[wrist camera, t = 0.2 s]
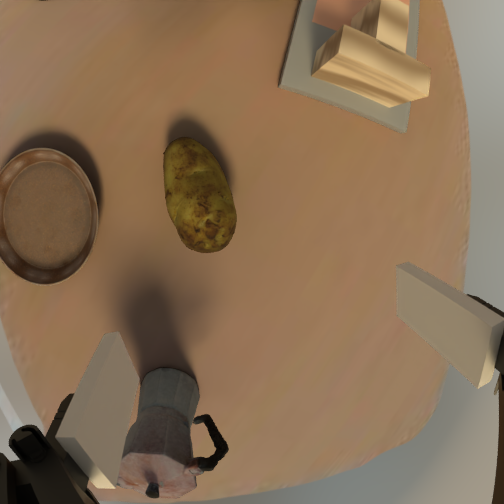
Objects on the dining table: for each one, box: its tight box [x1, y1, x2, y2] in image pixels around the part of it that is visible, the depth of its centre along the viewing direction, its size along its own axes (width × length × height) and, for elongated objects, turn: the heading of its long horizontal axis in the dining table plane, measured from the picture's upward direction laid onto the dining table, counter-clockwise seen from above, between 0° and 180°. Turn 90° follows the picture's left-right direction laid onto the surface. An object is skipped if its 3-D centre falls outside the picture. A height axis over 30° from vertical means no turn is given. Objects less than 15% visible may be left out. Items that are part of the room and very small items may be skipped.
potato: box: [163, 137, 237, 253], centre depth 35 cm, size 8×13×8 cm, turn 179°
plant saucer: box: [0, 148, 98, 286], centre depth 35 cm, size 18×18×3 cm
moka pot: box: [117, 368, 229, 498], centre depth 35 cm, size 10×15×20 cm, turn 118°
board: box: [278, 0, 419, 133], centre depth 36 cm, size 30×19×2 cm, turn 167°
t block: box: [311, 0, 431, 108], centre depth 32 cm, size 12×12×9 cm
